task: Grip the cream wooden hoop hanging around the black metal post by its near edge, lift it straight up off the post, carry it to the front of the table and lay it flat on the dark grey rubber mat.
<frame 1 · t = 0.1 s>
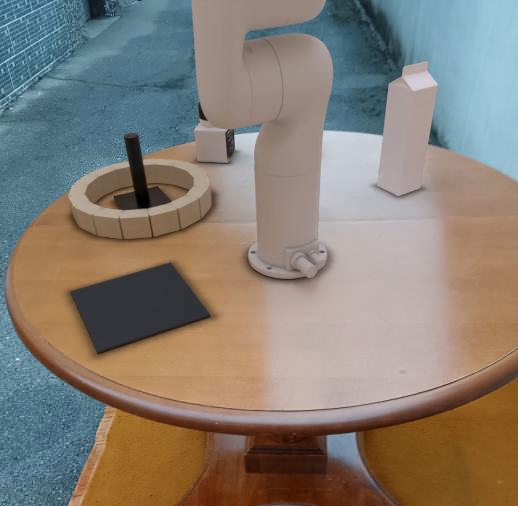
hoop: (143, 205, 103), on the table
mat: (138, 304, 78), on the table
milk: (398, 188, 105), on the table
medicine bottle: (216, 157, 121), on the table
post: (143, 205, 103), on the table
beverage cup: (303, 152, 121), on the table
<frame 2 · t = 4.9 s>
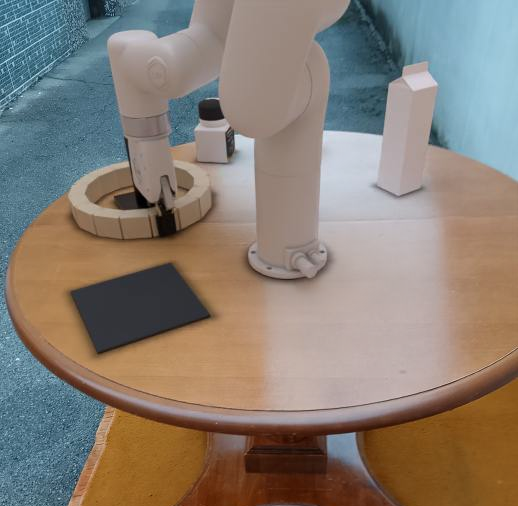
hand: (164, 229, 95), 0 cm above the table, tool pointing down, fingers closed on hoop, 3 cm apart
hoop: (143, 205, 103), on the table, touching gripper
everything else where it was.
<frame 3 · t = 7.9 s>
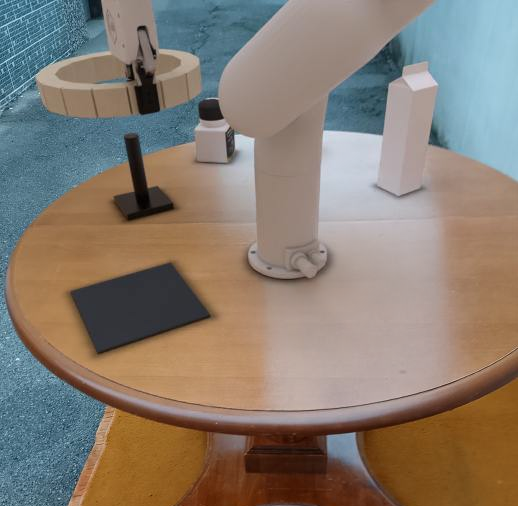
hand: (145, 108, 81), 21 cm above the table, tool pointing down, fingers closed on hoop, 3 cm apart
hoop: (124, 92, 90), point 20 cm above the table, touching gripper
everything else where it was.
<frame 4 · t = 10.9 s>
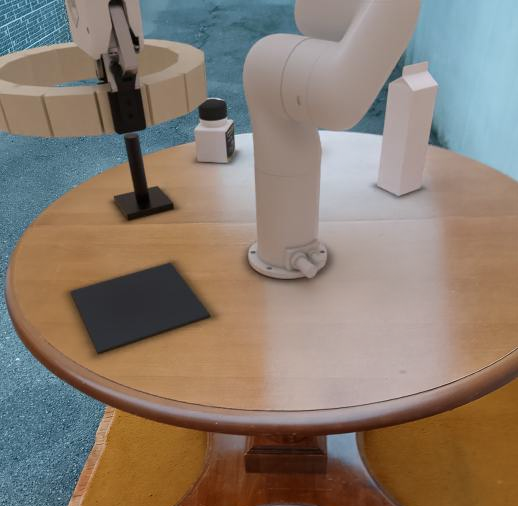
hand: (125, 124, 56), 27 cm above the table, tool pointing down, fingers closed on hoop, 3 cm apart
hoop: (98, 99, 64), point 27 cm above the table, touching gripper
everything else where it was.
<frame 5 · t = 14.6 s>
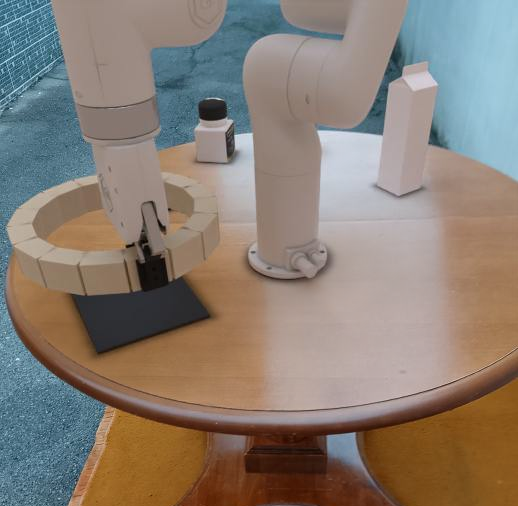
hand: (149, 278, 63), 11 cm above the table, tool pointing down, fingers closed on hoop, 3 cm apart
hoop: (121, 238, 71), point 11 cm above the table, touching gripper
everything else where it was.
when the fingers open (1 cm above the table, at t = 17.2 s): hoop stays where it is, resting on mat.
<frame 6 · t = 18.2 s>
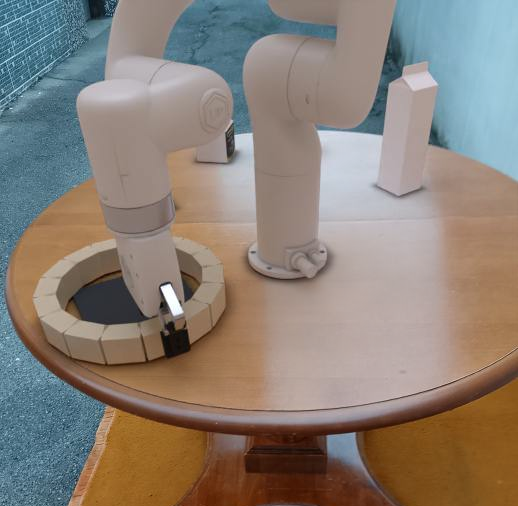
hand: (164, 331, 68), 3 cm above the table, tool pointing down, fingers open, 9 cm apart
hoop: (135, 303, 77), resting on mat
everything else where it was.
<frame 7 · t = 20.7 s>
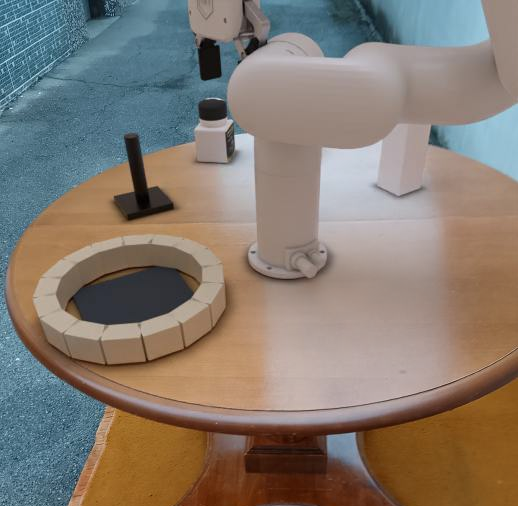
hand: (230, 85, 72), 25 cm above the table, tool pointing down, fingers open, 9 cm apart
nothing on the table moved.
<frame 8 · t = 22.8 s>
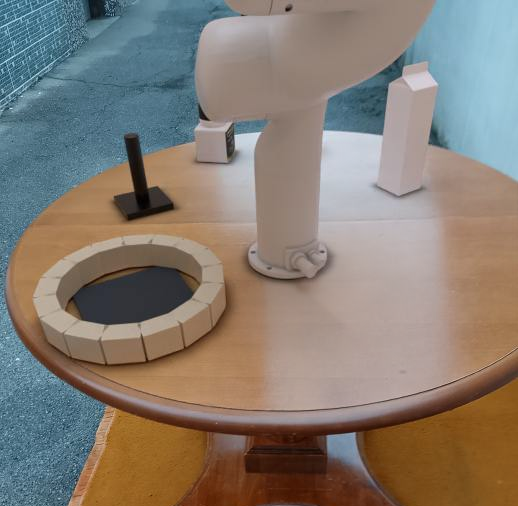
hand: (266, 39, 80), 28 cm above the table, tool pointing down, fingers open, 9 cm apart
nothing on the table moved.
at the end: hoop inside the target area on the mat (0.3 cm from its centre), point 0.4 cm above the mat's base; hoop tilted 0°; the gripper is holding nothing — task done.
